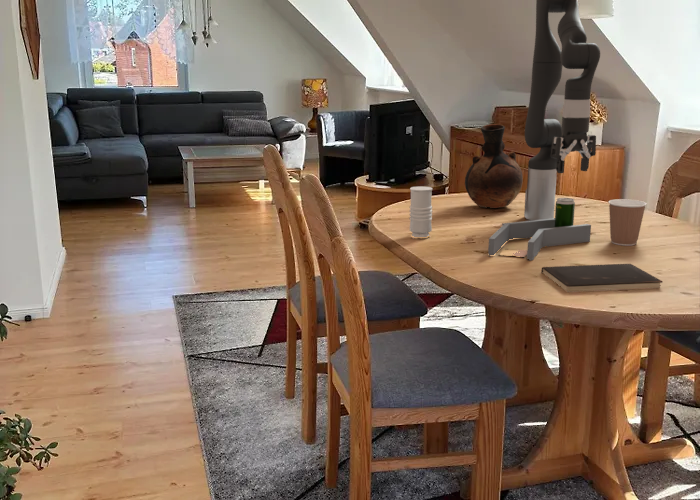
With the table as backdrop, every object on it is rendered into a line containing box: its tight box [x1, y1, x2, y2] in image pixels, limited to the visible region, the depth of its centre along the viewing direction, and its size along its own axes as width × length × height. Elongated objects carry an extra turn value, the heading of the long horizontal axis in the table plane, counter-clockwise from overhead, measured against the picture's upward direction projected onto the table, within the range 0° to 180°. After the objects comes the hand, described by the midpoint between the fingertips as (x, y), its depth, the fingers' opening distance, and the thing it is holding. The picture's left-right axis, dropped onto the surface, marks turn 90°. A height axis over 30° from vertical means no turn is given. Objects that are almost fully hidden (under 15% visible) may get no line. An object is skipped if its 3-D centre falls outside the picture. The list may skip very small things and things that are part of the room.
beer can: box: [554, 197, 576, 227], centre depth 210 cm, size 5×5×12 cm
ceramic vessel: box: [464, 123, 524, 209], centre depth 255 cm, size 21×18×30 cm
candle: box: [408, 186, 433, 237], centre depth 214 cm, size 7×7×15 cm
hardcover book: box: [541, 263, 663, 293], centre depth 171 cm, size 16×23×2 cm
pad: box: [512, 249, 527, 258], centre depth 196 cm, size 7×7×1 cm
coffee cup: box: [608, 198, 647, 247], centre depth 205 cm, size 10×10×12 cm
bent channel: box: [487, 217, 592, 261], centre depth 202 cm, size 23×36×5 cm, turn 111°
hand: (572, 171), depth 207 cm, fingers open, 8 cm apart
